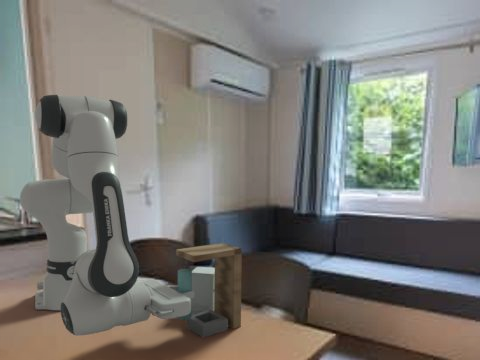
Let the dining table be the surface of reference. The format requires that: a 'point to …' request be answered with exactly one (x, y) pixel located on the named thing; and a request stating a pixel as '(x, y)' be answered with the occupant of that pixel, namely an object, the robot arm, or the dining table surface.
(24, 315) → the dining table surface
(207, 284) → the supplement box
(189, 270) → the peg
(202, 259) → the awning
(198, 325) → the socket
